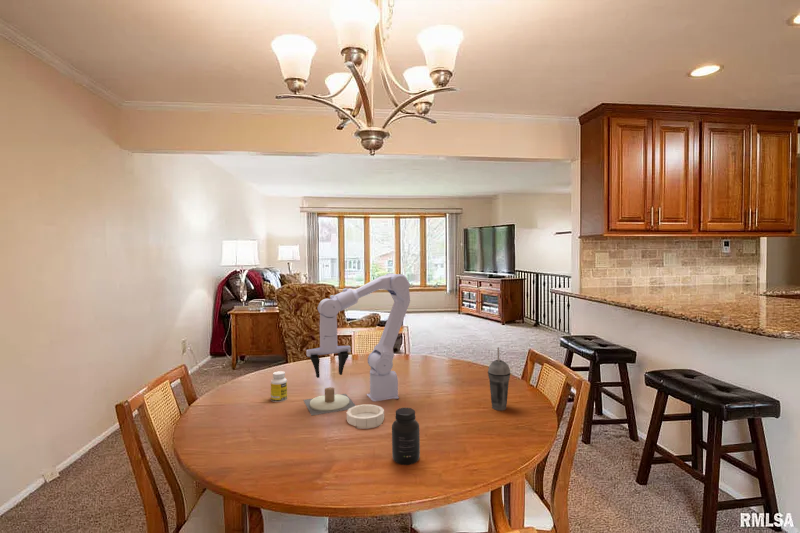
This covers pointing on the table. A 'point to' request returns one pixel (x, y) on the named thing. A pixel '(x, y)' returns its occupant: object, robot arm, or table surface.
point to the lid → (329, 401)
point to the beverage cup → (499, 383)
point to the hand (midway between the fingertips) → (329, 375)
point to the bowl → (365, 416)
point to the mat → (316, 412)
